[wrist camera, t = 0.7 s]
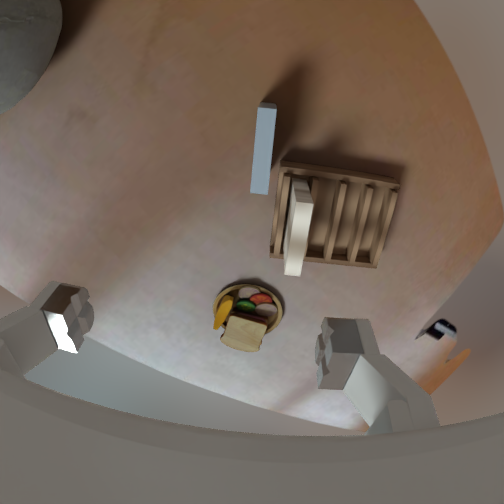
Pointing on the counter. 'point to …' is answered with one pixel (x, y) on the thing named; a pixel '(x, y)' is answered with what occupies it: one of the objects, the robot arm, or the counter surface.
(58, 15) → the ceramic pot
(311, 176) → the rack
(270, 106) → the grey upright panel
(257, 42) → the counter surface
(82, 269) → the counter surface
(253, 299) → the toy sandwich meal
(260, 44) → the counter surface
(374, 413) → the robot arm
